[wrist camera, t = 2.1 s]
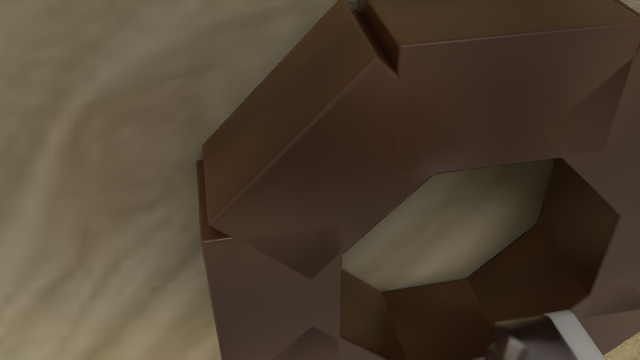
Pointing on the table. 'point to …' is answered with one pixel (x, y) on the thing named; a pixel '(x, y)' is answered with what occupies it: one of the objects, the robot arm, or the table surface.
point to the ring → (426, 176)
